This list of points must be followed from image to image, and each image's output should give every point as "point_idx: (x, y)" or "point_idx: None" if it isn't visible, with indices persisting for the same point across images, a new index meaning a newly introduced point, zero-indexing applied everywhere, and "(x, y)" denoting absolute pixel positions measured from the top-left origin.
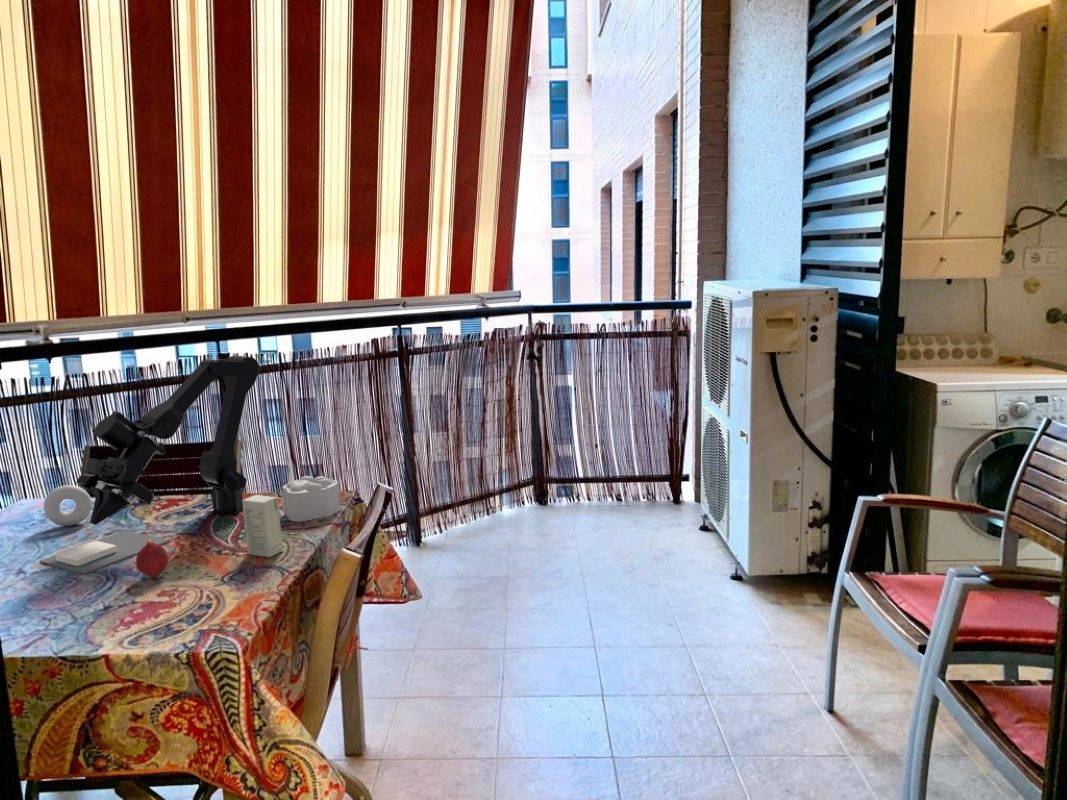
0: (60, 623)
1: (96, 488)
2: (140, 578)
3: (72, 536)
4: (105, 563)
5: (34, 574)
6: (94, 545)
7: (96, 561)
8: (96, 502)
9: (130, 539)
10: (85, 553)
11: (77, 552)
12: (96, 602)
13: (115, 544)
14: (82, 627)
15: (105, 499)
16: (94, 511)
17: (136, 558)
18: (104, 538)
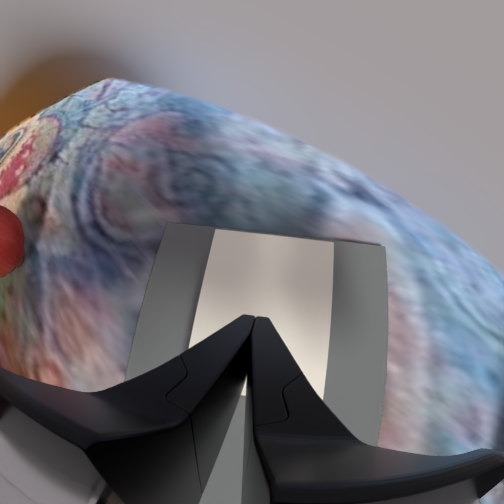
0: (95, 113)
1: (363, 489)
2: (39, 251)
3: (480, 429)
4: (155, 290)
5: (311, 190)
6: None
7: (198, 296)
8: (295, 404)
9: None
10: (236, 282)
11: (276, 280)
12: (74, 158)
13: None
14: (66, 121)
15: (137, 407)
16: (265, 349)
17: (9, 214)
18: None
